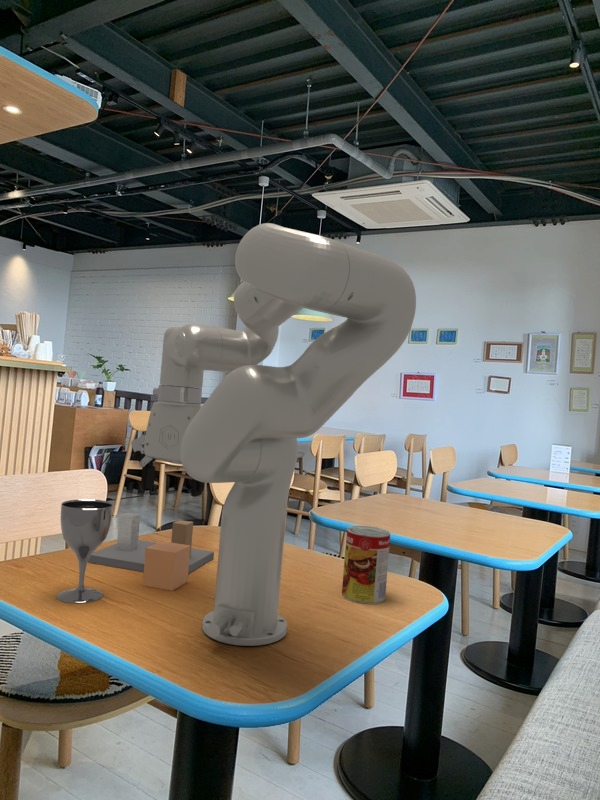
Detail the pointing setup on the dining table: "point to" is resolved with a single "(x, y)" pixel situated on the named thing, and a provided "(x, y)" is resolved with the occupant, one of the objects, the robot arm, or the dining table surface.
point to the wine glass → (84, 540)
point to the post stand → (137, 556)
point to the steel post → (128, 531)
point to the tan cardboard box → (166, 565)
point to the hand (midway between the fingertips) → (171, 492)
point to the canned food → (366, 564)
